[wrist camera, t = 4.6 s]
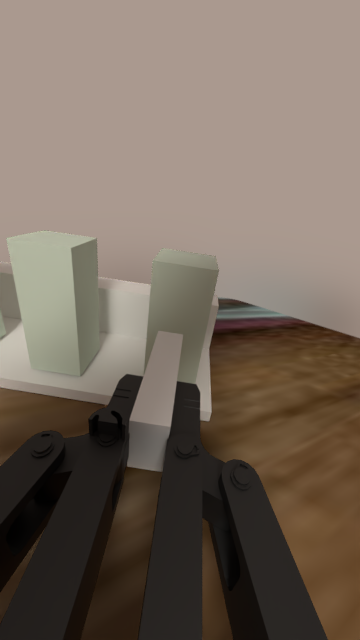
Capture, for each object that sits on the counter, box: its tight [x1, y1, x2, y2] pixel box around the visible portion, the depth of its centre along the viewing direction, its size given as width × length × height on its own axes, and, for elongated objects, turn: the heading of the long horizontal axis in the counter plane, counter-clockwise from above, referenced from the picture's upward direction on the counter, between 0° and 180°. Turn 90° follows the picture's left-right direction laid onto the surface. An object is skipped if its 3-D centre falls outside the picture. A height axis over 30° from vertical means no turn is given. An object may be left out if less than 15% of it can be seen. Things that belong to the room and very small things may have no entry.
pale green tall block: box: [144, 248, 219, 384], centre depth 19 cm, size 4×4×10 cm
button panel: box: [0, 262, 219, 421], centre depth 22 cm, size 25×12×6 cm, turn 85°
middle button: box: [7, 230, 100, 376], centre depth 19 cm, size 4×4×10 cm
